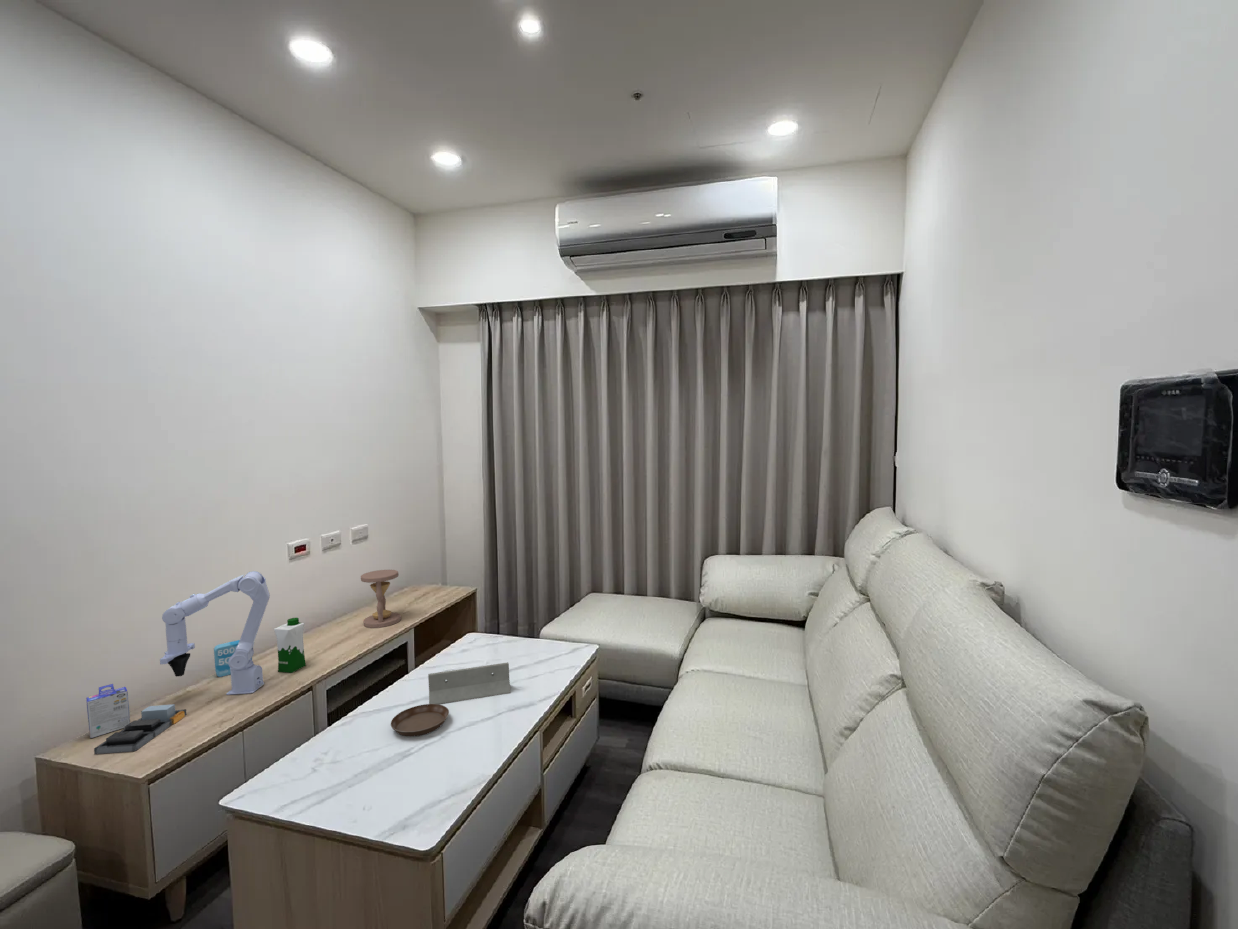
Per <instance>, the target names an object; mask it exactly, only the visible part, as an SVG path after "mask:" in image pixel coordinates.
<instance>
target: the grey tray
mask: <svg viewBox="0 0 1238 929" xmlns="http://www.w3.org/2000/svg"><path fill="white" fill-rule="evenodd" d="M186 715H187V709H175V715H174V716H173V717H171V718H170V719H169V720H163V721H160V719H149V720H142V717H140V718H138V719H137V720H132V721H130V723H129V724H128V725H126V726H125V728H122V729H121V730H120V731H115V732H114V733H112V734H111V735H110V736H108V737H106V738H105V741H104V742H102V743H101V744H99V745H97V746H96V747H94V748H93V752H94V755H102V754H103V755H104V754H115V753H129V752H130V753H131V752H136V751H138V750H139V749H141V748H142V747H143V746H145V745H146V744H147V743H149V742H150V741H152V740H154V738H156V737H158V736H159V735H160V734H161V733H163V732H164V731H166V730H167V729H168V728H170V727H171V726H172V725H175V724H176V723H178V722H179V721H180V720H182V719H183V718H185V716H186Z"/></svg>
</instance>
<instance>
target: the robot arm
mask: <svg viewBox="0 0 1238 929" xmlns="http://www.w3.org/2000/svg"><path fill="white" fill-rule="evenodd" d="M230 592H234V593H238V592H242V593H243V594H245V595H247V596H248V597H249V598H250V599H251V600H252V601H253V602H252V605H251V607H250V611H249V613H248V616H247V619H246V622H245V624H244V627H243V630H242V632H241V636H240V639H239V640H240V641H239V643H238V646H237V648H236V650H235V652H234V654H233V655H232V656H231V657H230V659H229V661H228V664H229V666H230V671H231V674H230V681H231V682H230V683H231V690H228V692H226V694H225V695H227V696H230V695H231V696H232V695H243V694H252V693H255V692H256V691H257V690H258V689H259V688H261V687H262V686H263V685H265V682H264V677H263V676H264V674H263V667H262V666H261V665H259V664H255V662H254V660H253V657H254V654H255V651H254V650H255V649H254V645H255V641H256V637H257V634H258V631H259V629H260V626H261V623H262V621H263V617H264V614H265V612H266V609H267V605H268V603H269V600H270V596H271V595H270V592H269V589H268V584H267V581H266V578H265V576H264V575H263V574H262V573H261V572H259V571H256V570H252V571H249V572H247V573H246V574H242V575H241V574H240V575H239V576H236V577H235V578H232V579H230V580H228V581H226V582H225V583H222V584H221V585H218V587H215V588H214V589H211V590H210V591H208V592H206V593H201V592H200V593H197V594H196V593H193V594H190V595H189V598H187V599H185V600H182V601H177V602H176V603H175V604H173V605H172V606H170V607H169V608H167V609H166V610H165V611H164V612H163V613H162V616H161V619H162V621H163V622H164V624H165V636H166V637H165V638H166V651H165V652H164V655H163V657H161V658H160V659H159V664H160V665H168V666H170V668H171V669H172V671H173V674H174V676H175V677H176V678H177V677H182V676H184V675H185V672H186V667H187V663H188V661H189V659H190V658H191V653H189V651H190V650H194V649H195V648H196V645H195V642H190V643H188V635H187V624H186V618H185V617H189V616H191V615H193V614H195V613H197V612H199V611H201V610H203V609H205V608H207V607H208V605H209V603H210V602H211V601H213V600H215V599H217V598H219V597H221V596H223V595H226V594H228V593H230ZM251 658H252V660H251Z"/></svg>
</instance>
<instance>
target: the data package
mask: <svg viewBox="0 0 1238 929" xmlns="http://www.w3.org/2000/svg"><path fill="white" fill-rule="evenodd" d="M239 641H240V639H238V640H232V641H229V642H225V643H219V644H216V645H215V646H214V648H213V654H214V655H213V656H214V659H213V660H214V668H215V669H214V670H215V674H216V676H217V677H219V678H220V677H225V676H231V671H230V666H229V664H228V661H229V659H230V657H231V656H232V655H233V654H234V652H235V650H236V648H237V646H238V643H239ZM251 660H252V661H253V657H252V658H251Z"/></svg>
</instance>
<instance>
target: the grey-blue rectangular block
mask: <svg viewBox="0 0 1238 929" xmlns="http://www.w3.org/2000/svg"><path fill="white" fill-rule="evenodd" d="M175 710H176V704H173V703H172V704H160V705H159V704H158V705H149V706H147V707H146V708H144V709H142V710H141V711H140V712H141V713H140V714H141V718H142V720H149V719H160V721H163V720H169V719H170V718H171V717H173V716H174V715H175Z"/></svg>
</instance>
